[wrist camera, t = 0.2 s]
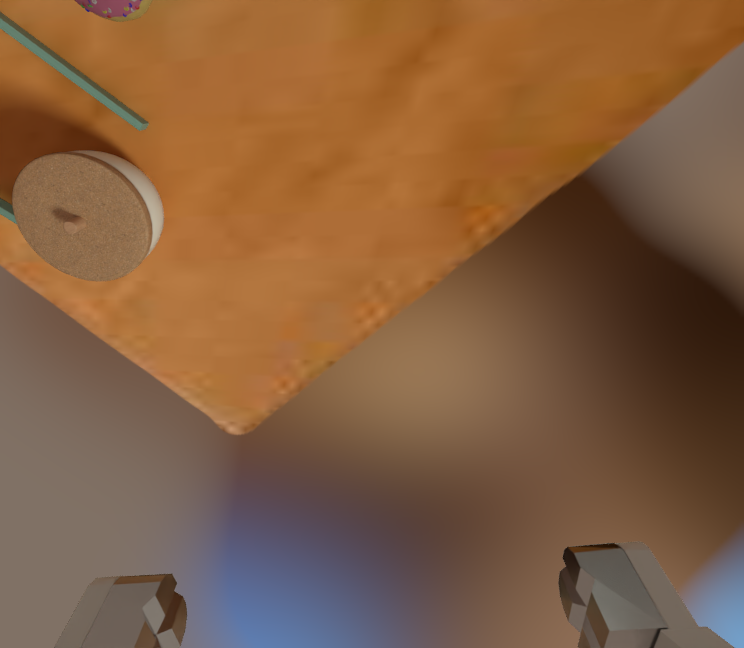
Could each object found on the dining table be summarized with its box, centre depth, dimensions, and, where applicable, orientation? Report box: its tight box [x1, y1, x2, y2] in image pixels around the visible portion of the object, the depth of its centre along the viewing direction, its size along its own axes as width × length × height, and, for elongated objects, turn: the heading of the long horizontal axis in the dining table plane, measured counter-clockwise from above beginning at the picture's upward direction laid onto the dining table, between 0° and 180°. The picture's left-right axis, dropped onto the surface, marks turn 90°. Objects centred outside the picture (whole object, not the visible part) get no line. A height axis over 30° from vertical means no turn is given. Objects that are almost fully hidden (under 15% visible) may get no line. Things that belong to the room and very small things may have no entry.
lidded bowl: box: [12, 150, 164, 281], centre depth 47 cm, size 13×13×11 cm
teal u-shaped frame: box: [0, 12, 149, 224], centre depth 48 cm, size 18×19×2 cm
